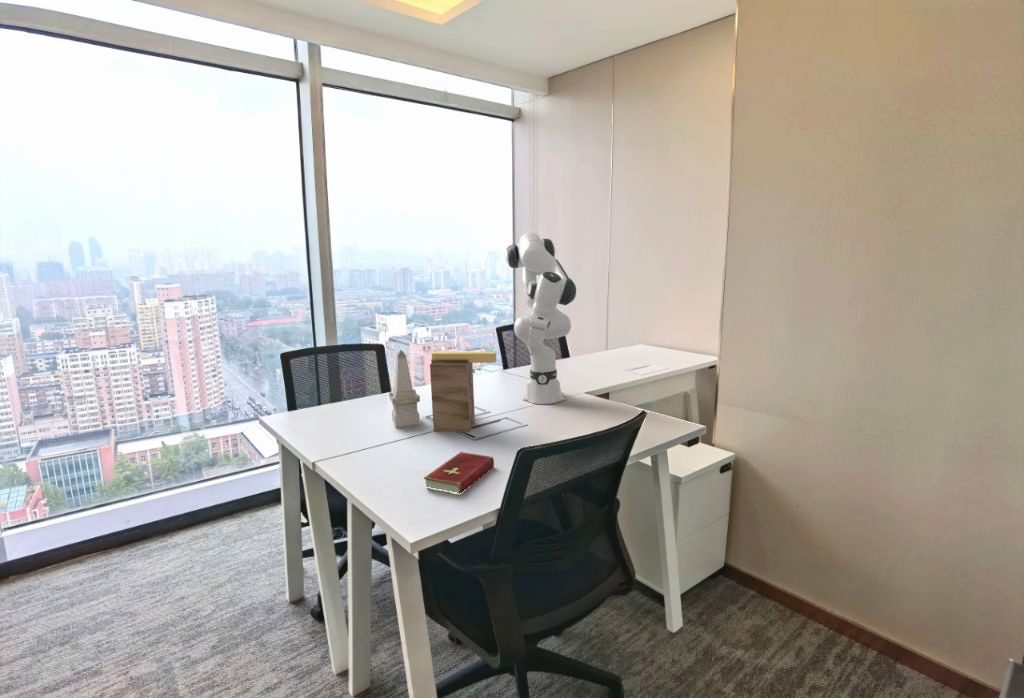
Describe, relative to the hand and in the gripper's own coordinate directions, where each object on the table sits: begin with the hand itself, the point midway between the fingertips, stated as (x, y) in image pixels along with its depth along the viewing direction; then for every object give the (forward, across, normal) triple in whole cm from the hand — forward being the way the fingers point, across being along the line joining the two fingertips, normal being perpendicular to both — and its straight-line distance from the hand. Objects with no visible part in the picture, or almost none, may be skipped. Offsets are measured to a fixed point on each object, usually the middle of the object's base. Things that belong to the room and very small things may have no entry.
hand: (534, 350), depth 197 cm
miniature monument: (+41, +9, -43) cm, 60 cm away
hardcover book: (+25, +54, -8) cm, 60 cm away
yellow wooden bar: (+9, +6, -25) cm, 27 cm away
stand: (+35, +11, -23) cm, 43 cm away
